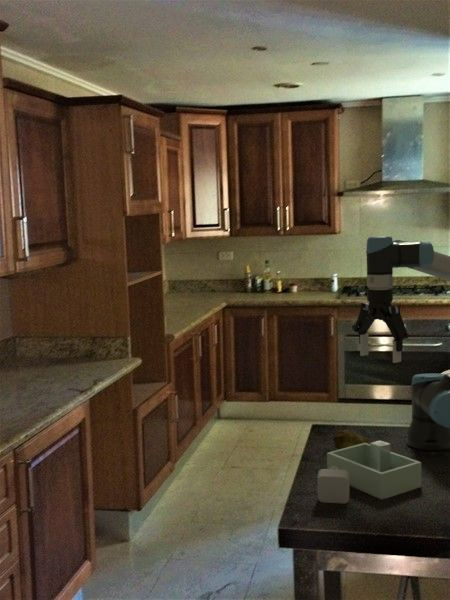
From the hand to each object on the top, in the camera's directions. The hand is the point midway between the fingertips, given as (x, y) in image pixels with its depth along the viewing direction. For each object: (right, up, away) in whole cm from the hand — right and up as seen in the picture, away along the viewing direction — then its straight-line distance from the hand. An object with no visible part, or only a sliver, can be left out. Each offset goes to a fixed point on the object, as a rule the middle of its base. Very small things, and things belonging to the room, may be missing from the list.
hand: (380, 358), depth 219 cm
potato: (-6, -31, +10) cm, 33 cm away
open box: (-5, -34, -13) cm, 36 cm away
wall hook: (-17, -36, -23) cm, 46 cm away
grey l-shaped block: (-5, -33, -13) cm, 36 cm away
